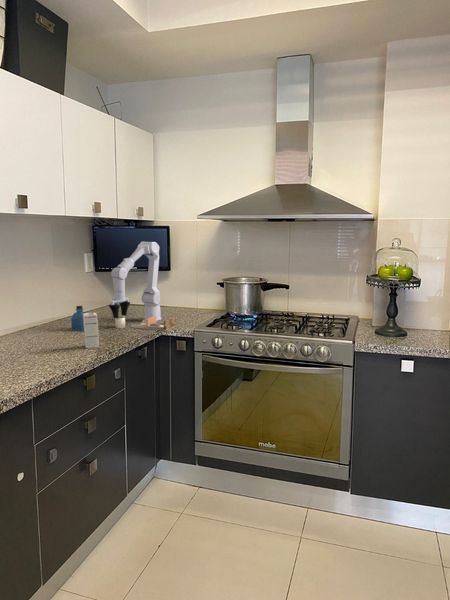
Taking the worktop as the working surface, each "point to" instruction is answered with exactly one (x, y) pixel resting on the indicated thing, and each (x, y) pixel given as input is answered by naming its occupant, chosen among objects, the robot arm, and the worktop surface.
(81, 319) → the perfume bottle
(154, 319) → the pusher
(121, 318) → the jar
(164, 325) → the lane
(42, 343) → the worktop surface
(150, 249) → the robot arm
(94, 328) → the syrup box
